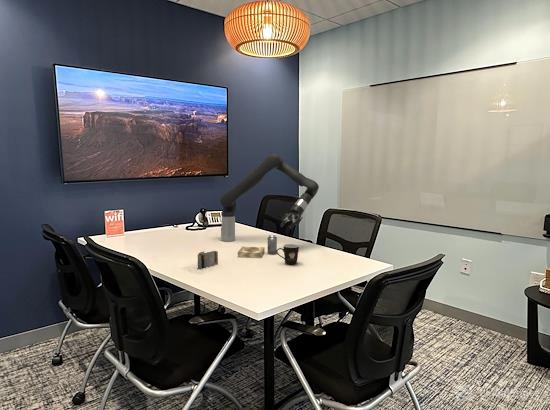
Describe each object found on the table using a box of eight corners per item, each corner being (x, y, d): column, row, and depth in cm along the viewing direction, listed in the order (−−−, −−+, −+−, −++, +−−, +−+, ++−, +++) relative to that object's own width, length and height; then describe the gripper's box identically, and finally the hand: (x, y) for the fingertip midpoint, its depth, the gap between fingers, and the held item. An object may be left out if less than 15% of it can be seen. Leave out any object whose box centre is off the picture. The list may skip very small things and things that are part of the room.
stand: (237, 257, 215) (237, 251, 214) (242, 251, 229) (242, 245, 228) (261, 257, 214) (261, 252, 213) (264, 251, 227) (264, 246, 227)
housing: (267, 254, 222) (267, 236, 220) (268, 252, 227) (268, 234, 226) (276, 254, 221) (276, 236, 220) (277, 252, 227) (277, 234, 225)
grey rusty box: (201, 270, 191) (201, 251, 190) (197, 268, 193) (197, 250, 192) (218, 265, 199) (218, 248, 198) (214, 264, 201) (214, 247, 200)
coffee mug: (300, 262, 205) (300, 244, 204) (296, 266, 197) (296, 248, 196) (280, 260, 209) (280, 243, 208) (275, 264, 201) (275, 246, 200)
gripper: (288, 202, 238) (275, 222, 232) (304, 205, 227) (290, 225, 222) (294, 210, 242) (281, 229, 236) (310, 212, 231) (296, 232, 226)
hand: (285, 227), depth 229 cm, fingers open, 8 cm apart
